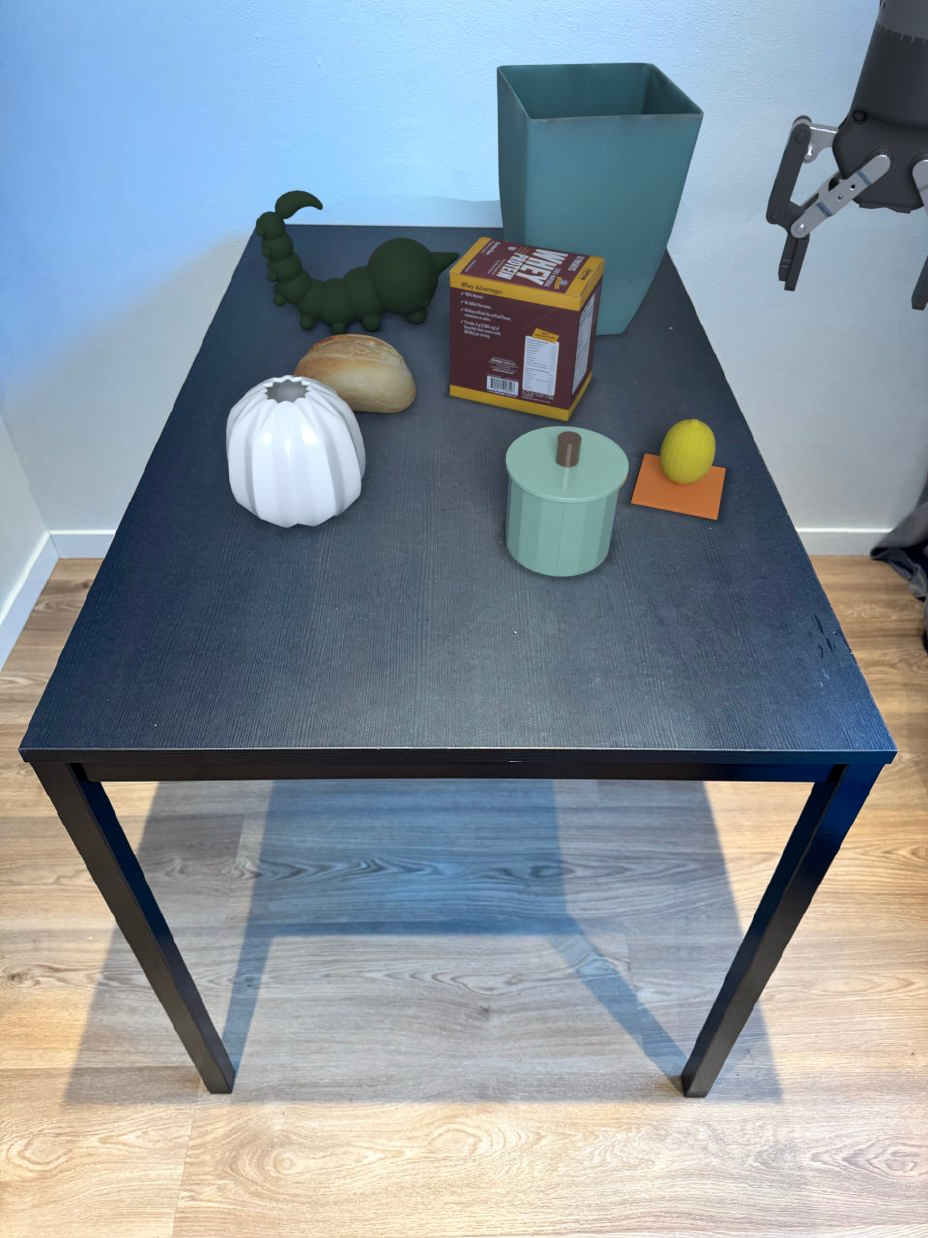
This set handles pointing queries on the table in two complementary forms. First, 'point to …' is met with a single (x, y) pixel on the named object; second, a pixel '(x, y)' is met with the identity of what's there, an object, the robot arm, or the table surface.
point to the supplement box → (523, 326)
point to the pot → (558, 532)
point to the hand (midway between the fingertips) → (852, 295)
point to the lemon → (687, 451)
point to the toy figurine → (349, 275)
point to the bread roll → (361, 372)
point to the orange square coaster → (678, 490)
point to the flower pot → (595, 168)
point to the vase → (294, 452)
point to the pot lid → (567, 464)
